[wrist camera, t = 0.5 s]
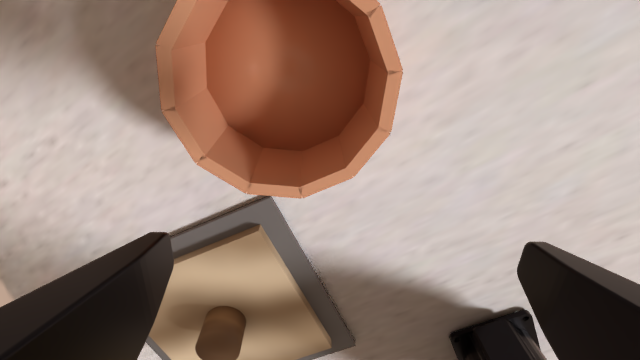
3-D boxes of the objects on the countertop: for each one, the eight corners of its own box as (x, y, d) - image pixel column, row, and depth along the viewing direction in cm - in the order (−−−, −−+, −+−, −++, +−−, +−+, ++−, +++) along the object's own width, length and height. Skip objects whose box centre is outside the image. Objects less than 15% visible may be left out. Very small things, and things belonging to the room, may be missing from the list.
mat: (354, 341, 29) (355, 345, 28) (199, 392, 31) (197, 396, 31) (270, 195, 23) (269, 197, 23) (86, 271, 25) (82, 275, 25)
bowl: (400, 115, 21) (428, 146, 16) (252, 179, 22) (235, 225, 17) (335, -70, 17) (344, -106, 12) (161, 23, 18) (105, 25, 13)
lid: (331, 339, 28) (333, 377, 25) (203, 382, 30) (191, 422, 27) (260, 224, 23) (252, 254, 20) (113, 283, 25) (87, 319, 22)
